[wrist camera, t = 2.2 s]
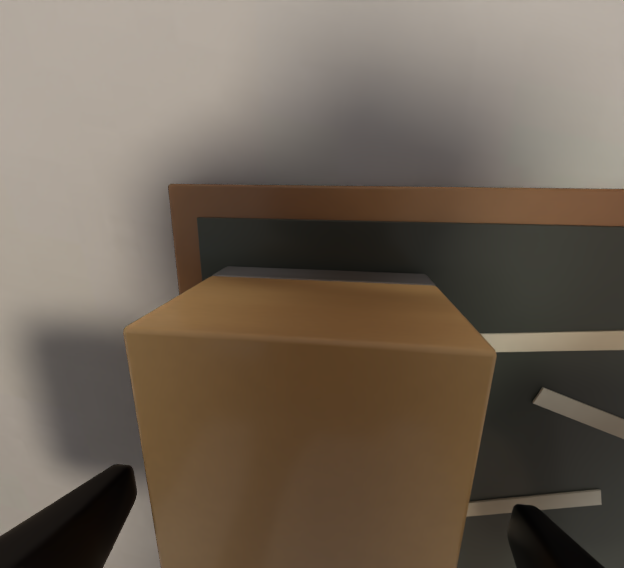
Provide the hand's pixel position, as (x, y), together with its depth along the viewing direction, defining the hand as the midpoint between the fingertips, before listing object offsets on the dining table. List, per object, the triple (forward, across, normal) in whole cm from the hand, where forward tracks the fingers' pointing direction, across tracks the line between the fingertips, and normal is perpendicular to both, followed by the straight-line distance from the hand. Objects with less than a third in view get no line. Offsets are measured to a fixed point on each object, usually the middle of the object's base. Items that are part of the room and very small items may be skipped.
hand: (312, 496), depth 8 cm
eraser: (+2, 0, 0) cm, 2 cm away
